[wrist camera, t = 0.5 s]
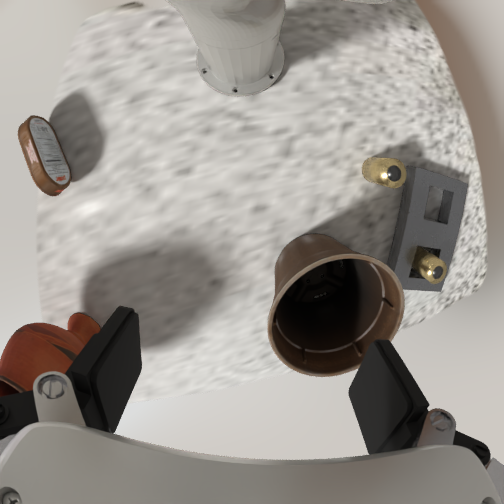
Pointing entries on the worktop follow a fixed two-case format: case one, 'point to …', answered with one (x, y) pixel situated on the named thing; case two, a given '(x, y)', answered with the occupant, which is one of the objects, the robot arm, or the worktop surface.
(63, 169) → the tin
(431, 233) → the jig
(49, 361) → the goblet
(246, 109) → the worktop surface
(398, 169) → the brass cylinder
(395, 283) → the plant pot
